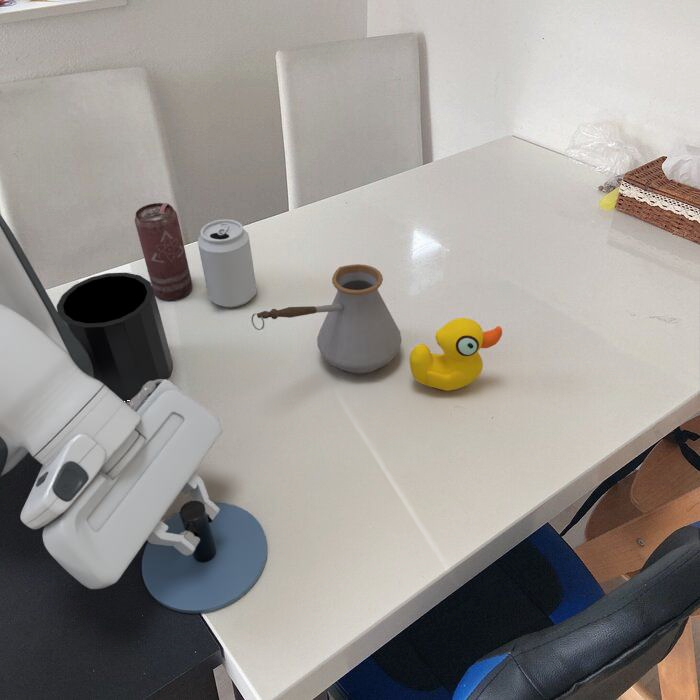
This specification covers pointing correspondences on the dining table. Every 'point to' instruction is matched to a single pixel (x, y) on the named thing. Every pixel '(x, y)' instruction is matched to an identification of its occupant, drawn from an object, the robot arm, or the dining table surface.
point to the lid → (206, 559)
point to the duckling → (453, 355)
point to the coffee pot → (352, 322)
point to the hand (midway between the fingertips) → (203, 533)
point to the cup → (118, 330)
